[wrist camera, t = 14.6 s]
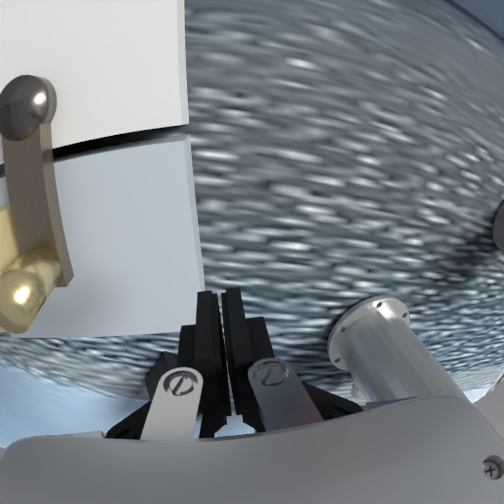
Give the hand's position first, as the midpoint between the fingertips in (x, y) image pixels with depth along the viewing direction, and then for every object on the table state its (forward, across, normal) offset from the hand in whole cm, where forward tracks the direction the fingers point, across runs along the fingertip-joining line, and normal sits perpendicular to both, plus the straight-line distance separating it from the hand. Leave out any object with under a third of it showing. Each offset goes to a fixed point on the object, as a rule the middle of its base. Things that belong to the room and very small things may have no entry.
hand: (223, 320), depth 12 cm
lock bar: (+7, +11, -6) cm, 15 cm away
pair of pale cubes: (+18, +11, -8) cm, 22 cm away
